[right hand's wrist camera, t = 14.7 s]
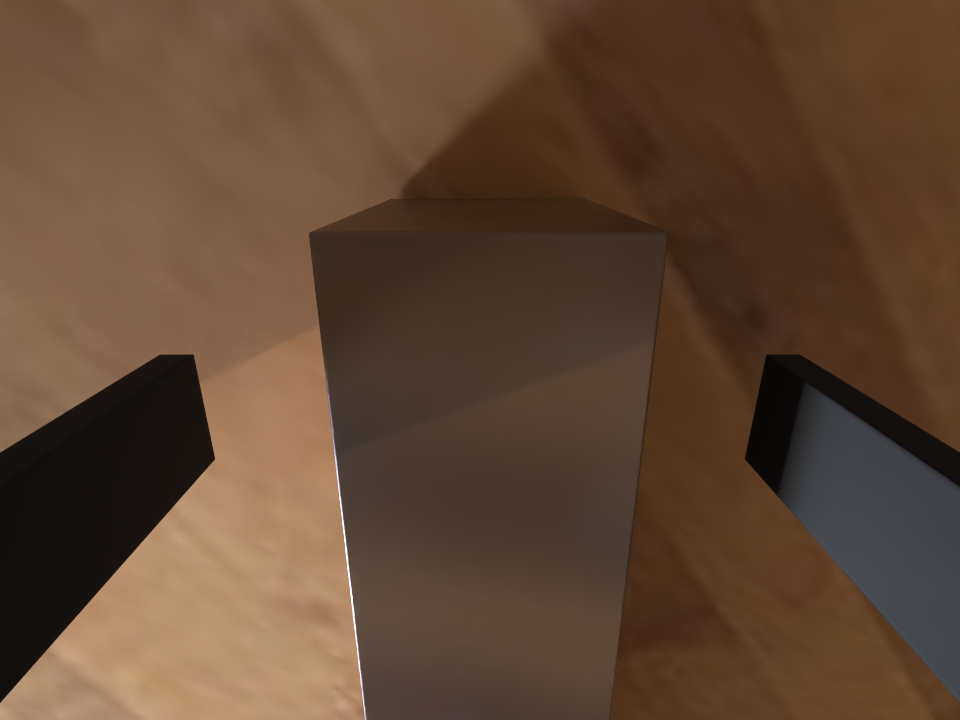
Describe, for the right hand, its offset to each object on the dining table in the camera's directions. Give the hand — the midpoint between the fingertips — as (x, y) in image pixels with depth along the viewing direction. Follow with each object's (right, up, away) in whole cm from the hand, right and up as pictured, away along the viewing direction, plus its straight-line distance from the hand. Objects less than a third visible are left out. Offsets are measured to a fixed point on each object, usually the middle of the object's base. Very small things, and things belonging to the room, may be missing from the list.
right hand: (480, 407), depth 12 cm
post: (0, -24, +15) cm, 28 cm away
